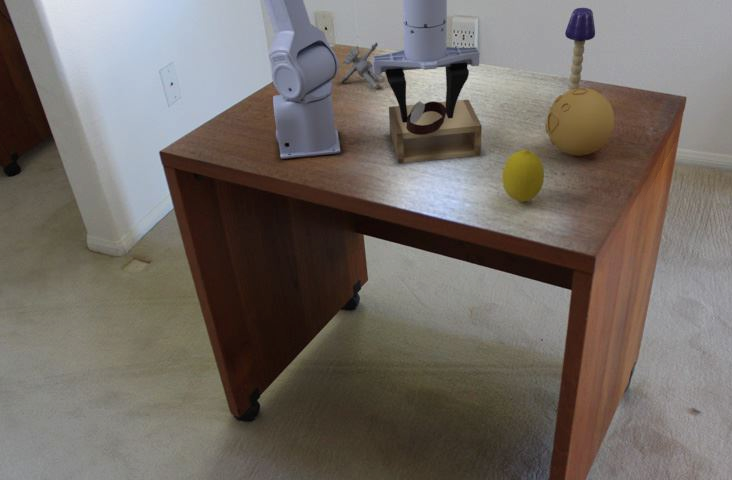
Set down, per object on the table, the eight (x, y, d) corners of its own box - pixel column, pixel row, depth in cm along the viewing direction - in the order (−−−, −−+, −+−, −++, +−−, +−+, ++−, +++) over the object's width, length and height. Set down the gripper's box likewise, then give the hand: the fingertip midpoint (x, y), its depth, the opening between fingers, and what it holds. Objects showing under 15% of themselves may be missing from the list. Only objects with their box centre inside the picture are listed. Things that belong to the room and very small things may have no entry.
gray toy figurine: (354, 98, 136) (326, 69, 140) (368, 110, 142) (340, 82, 145) (392, 56, 134) (363, 28, 138) (405, 70, 140) (376, 43, 143)
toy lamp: (591, 112, 126) (604, 11, 116) (567, 118, 125) (578, 16, 114) (575, 102, 129) (586, 3, 119) (552, 107, 128) (561, 8, 118)
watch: (427, 113, 111) (426, 90, 109) (454, 120, 109) (454, 96, 107) (398, 133, 107) (397, 109, 104) (425, 140, 104) (425, 116, 102)
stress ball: (616, 143, 117) (625, 81, 110) (600, 171, 110) (610, 107, 104) (553, 133, 120) (559, 73, 114) (535, 160, 113) (540, 97, 107)
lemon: (537, 191, 106) (541, 139, 101) (545, 211, 102) (550, 158, 97) (498, 193, 106) (500, 141, 101) (504, 213, 102) (507, 160, 97)
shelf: (397, 163, 115) (396, 133, 112) (390, 135, 123) (388, 106, 120) (480, 155, 116) (481, 125, 113) (468, 128, 124) (468, 99, 121)
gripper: (373, 35, 95) (379, 134, 103) (485, 26, 96) (482, 124, 104) (368, 18, 101) (374, 113, 109) (474, 9, 101) (472, 104, 110)
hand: (426, 117), depth 107 cm, fingers closed on watch, 6 cm apart
